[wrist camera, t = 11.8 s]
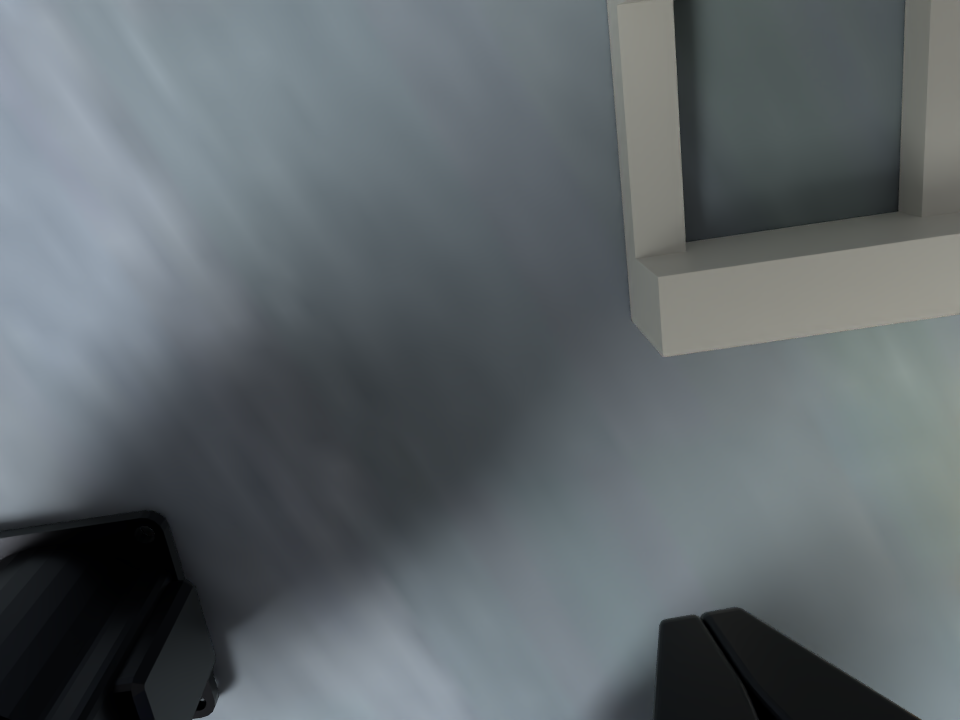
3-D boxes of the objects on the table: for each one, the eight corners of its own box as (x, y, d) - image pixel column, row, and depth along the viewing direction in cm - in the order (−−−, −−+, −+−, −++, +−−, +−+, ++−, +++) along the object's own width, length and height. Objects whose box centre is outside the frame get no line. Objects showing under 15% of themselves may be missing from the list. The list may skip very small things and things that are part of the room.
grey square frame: (631, 320, 20) (663, 357, 17) (600, -80, 17) (632, -115, 14) (942, 275, 20) (1025, 304, 17) (964, -132, 17) (1067, -176, 14)
